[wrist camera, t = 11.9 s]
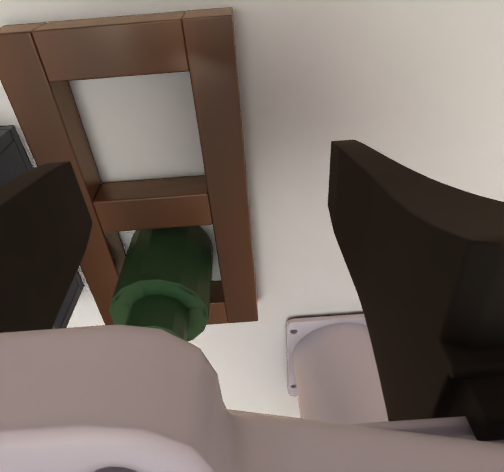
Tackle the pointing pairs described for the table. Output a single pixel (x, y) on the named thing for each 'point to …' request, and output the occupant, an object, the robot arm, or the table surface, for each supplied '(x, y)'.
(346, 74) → the table surface
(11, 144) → the basket
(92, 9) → the table surface
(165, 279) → the green bottle
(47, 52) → the rack
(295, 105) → the table surface
